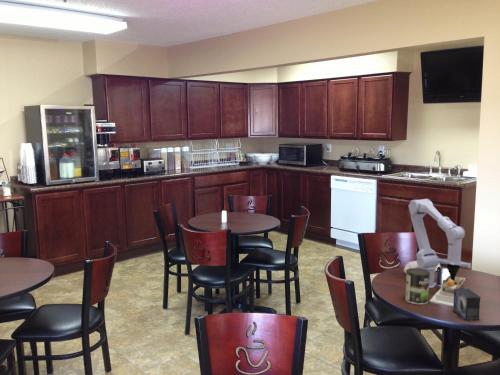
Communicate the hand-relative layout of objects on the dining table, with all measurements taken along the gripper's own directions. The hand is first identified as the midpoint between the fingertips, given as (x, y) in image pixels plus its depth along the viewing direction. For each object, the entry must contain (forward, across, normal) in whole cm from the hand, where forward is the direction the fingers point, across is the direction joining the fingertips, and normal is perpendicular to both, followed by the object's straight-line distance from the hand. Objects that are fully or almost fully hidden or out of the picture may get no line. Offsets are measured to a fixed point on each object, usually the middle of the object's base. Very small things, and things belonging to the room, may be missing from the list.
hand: (452, 280), depth 219 cm
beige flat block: (+8, 0, -7) cm, 11 cm away
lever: (+6, 0, +3) cm, 6 cm away
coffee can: (+8, -12, -16) cm, 21 cm away
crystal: (+8, -22, +28) cm, 37 cm away
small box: (+8, +10, -20) cm, 24 cm away
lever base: (+8, 0, -2) cm, 8 cm away
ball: (0, 0, -4) cm, 4 cm away
